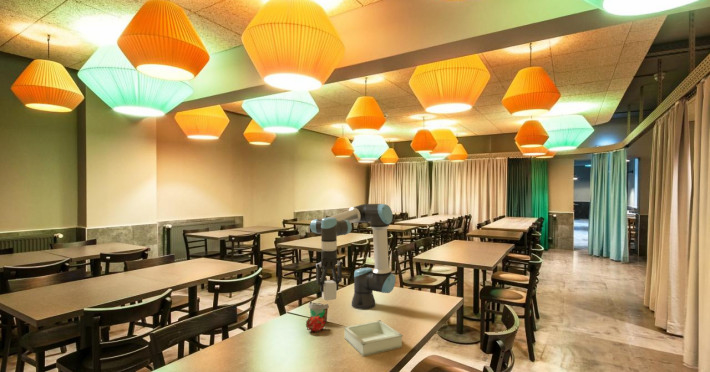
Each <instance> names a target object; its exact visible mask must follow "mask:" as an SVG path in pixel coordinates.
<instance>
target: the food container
mask: <svg viewBox="0 0 710 372" xmlns="http://www.w3.org/2000/svg"><path fill="white" fill-rule="evenodd" d="M308 308H309V313H310V317H313V316H316V317H317V316H320V318H324V319H325V321H326V323H327V321H328V312H329V311H328V309H329V303H326V304H322V303H319V302H317V303H316V302H312V300H310V301H309V303H308Z"/></svg>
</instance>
